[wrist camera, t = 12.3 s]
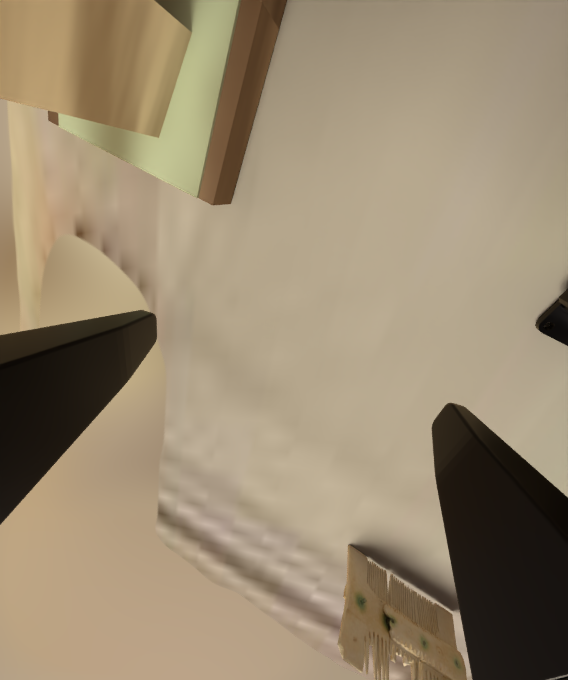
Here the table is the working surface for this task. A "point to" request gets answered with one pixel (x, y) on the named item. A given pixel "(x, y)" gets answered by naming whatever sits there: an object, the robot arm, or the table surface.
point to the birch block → (92, 59)
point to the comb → (395, 626)
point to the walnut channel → (202, 99)
